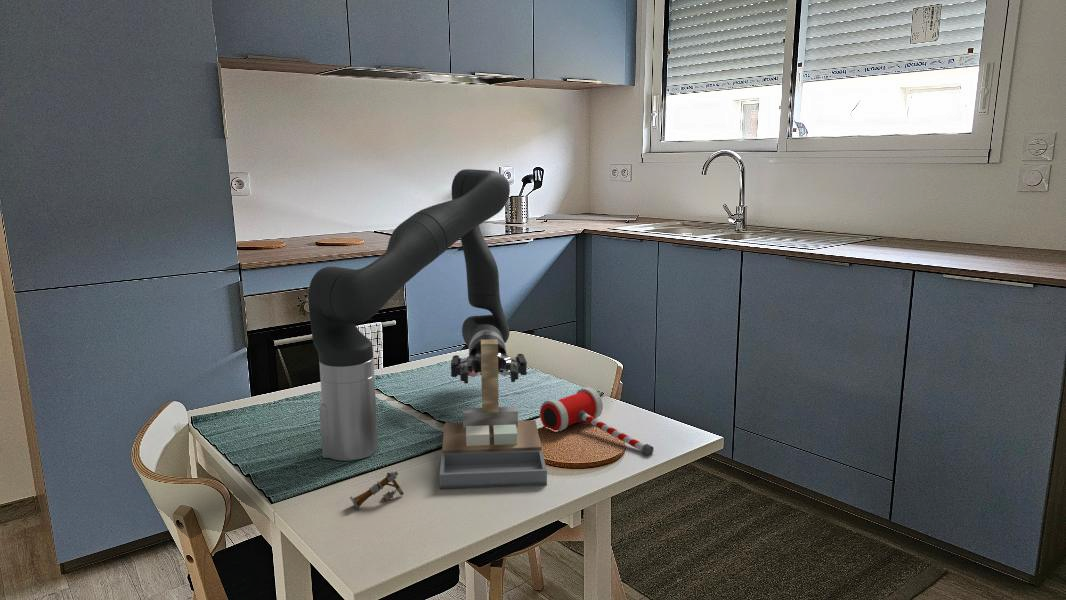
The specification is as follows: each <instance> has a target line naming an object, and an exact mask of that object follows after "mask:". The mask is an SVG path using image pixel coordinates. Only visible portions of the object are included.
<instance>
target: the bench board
mask: <svg viewBox="0 0 1066 600" xmlns="http://www.w3.org/2000/svg"><path fill="white" fill-rule="evenodd" d="M443 425H444V428H443V437H442V445H441V447H442V448H441V454H442V453H464V452H492V451H520V450H542V451H543V448H542V444H541V440H540V439H541V438H540V435H539V431H538V426H537V422H536V420H535V419H534V420H532V419H531V420H518V427H516V429H517V444H509V445H494V437H493V427H489V443H490V445H481V446H466V428H463V422H445V423H444V424H443Z"/></svg>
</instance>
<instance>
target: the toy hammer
mask: <svg viewBox="0 0 1066 600" xmlns="http://www.w3.org/2000/svg"><path fill="white" fill-rule="evenodd" d="M603 406H604V404H603V400H602V398H601V396H600V394H599V393H598V391H597V390H596V389H594V388H593V387H587V386H586V387H584V388H580V389H579V390H578V391H576V393H575V394H574V393H573V394H572V395H569V396H565V397H563V398H560V399H556V398H551V399H549V400H545V401H544V402H543V403H542V404H541V405H540V409H539V417H540V420H541V423H542V425H543V427H544V428H545V427H548V428H551V429H553V430H558V431H561V432H563V431H562V430H564V429H565V430H566V429H567V427H569V426H572V425H574V424H575V425H576V424H577V423H580V422H582V421H583V422H587V423H589V424H590V425H593V426H594V427H596V428H598V429H599V430H602V431H603V432H605V433H607V434H609V435H611V436H613V437H615V438H616V439H618V440H620V441H622V442H624V443H626V444H628V445H629V446H631V447H633V448H635V449H637V450H639V451H641V454H642V455H645V456H648V457H649V456H651V455H653V453H654V447H653V446H652V444H648V443H643V442H641V441H639V440H637V439H635V438H634V437H631V436H629V435H627V434H626V433H624V432H621V431H620V430H618V429H616V428H614V427H612V426H610V425H608V424H607V423H605V422H603V421H601V420H599V419H597V418H599V417H600V416H601V415H602V413H603V409H604V407H603ZM565 430H564V431H565Z"/></svg>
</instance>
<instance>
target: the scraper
mask: <svg viewBox="0 0 1066 600" xmlns="http://www.w3.org/2000/svg"><path fill="white" fill-rule="evenodd" d="M480 376H481V407H462V423H463V428H466V426H485V425H489V427H493V425H515V424H516V427H518V421H519V417H518V416H519V415H518V406H515V405H514V406H499V402H500V401H499V374H498V341H497V339H491V340H481V375H480Z"/></svg>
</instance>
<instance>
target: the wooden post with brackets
mask: <svg viewBox="0 0 1066 600" xmlns="http://www.w3.org/2000/svg"><path fill="white" fill-rule="evenodd" d="M398 475H399V471H397V470H395V471H391V472H387V473H386V475H385V477H384V478H383V479H382V480H380V481H377V482H376V483H375V484H373V485H372V486H370V487H369V489H367V490H365V492H363V493H361V494H358V495H357V496H355V497H353V496H352V495H351V496H350V497H349V499H350V500H351V502H352V504H353V506H354V507H355V508H356V510H357V511H359V510H360V509H361V508H360V507H361V505H362V504H363V503H365V502H366V501H367V500H368V499H369V498H370V497H372V496H375V495H376V494H377V493H379V492H380V491H381V490H384V487H385V486H389V487H394V488H395V490H391V491H389V490H387V493H385V494H382V497H381V499H380V500H381V502H385V501H386V502H388V501H390V500H391V499H394V495H395V494H396V493H399V495H400V496H402V495H404V494H405V493H404V491H403V489H402V487H401V486H400V484H398V482H397V481H396V479H398V477H397V476H398Z"/></svg>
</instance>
